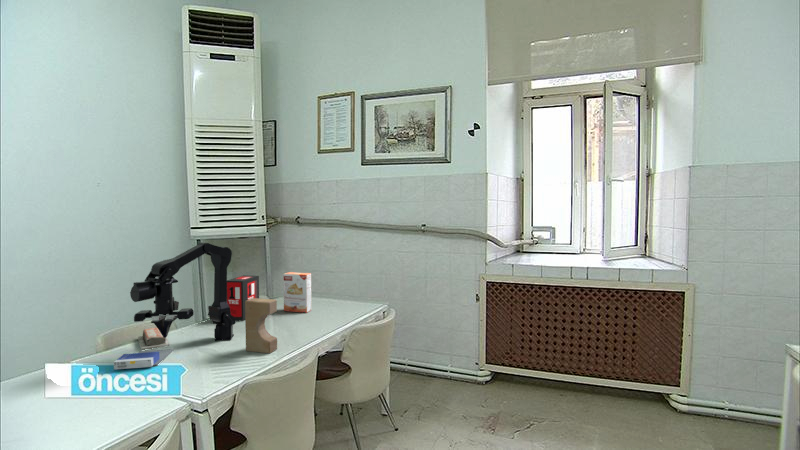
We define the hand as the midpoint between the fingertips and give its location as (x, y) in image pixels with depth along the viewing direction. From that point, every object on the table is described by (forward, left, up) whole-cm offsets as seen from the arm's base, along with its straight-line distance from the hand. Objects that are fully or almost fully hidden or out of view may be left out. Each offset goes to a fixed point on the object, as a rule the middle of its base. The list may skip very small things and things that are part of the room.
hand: (165, 337), depth 150 cm
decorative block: (-34, -2, -8) cm, 35 cm away
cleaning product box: (-17, -56, -8) cm, 59 cm away
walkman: (+1, +7, -6) cm, 9 cm away
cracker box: (-44, -62, -8) cm, 76 cm away
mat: (+6, 0, -8) cm, 10 cm away
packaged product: (+12, -19, -8) cm, 24 cm away
